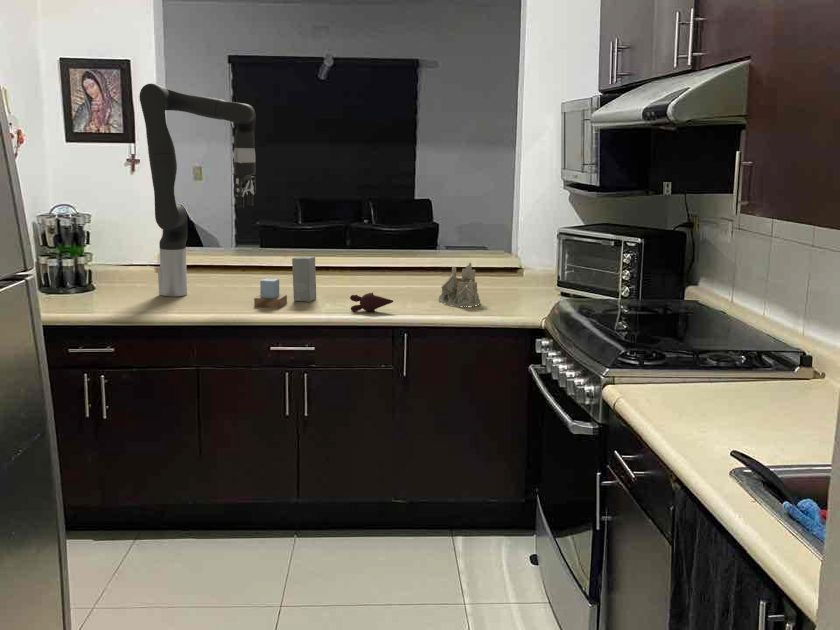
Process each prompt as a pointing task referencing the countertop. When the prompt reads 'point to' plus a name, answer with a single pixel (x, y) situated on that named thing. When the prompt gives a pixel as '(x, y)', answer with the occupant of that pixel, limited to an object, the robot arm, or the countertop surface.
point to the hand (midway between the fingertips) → (245, 206)
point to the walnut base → (270, 301)
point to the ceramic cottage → (460, 289)
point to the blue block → (269, 288)
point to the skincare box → (304, 278)
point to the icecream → (369, 302)
